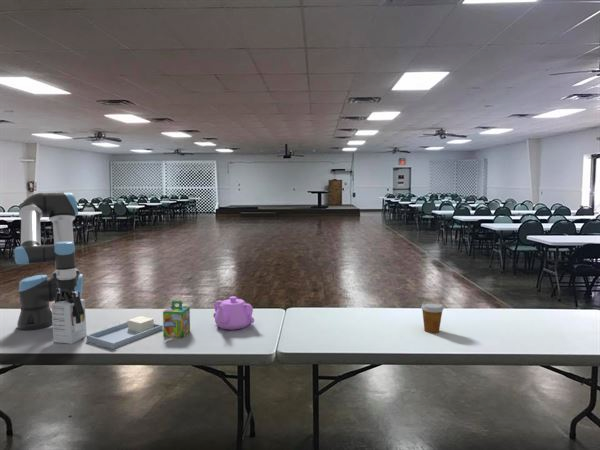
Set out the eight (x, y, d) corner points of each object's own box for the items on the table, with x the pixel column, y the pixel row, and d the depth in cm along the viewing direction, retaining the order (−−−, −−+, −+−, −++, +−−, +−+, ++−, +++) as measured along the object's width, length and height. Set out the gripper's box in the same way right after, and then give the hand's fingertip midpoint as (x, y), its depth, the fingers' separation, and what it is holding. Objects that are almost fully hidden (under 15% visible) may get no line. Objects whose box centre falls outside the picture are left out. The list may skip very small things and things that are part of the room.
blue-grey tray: (86, 341, 181) (86, 335, 181) (136, 324, 203) (136, 318, 203) (113, 349, 172) (113, 343, 172) (162, 330, 194) (162, 325, 193)
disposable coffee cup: (444, 329, 193) (444, 303, 192) (441, 335, 185) (442, 309, 184) (422, 326, 197) (423, 300, 196) (419, 332, 189) (419, 306, 188)
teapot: (197, 331, 192) (196, 302, 191) (223, 317, 212) (222, 290, 211) (239, 338, 184) (239, 307, 182) (262, 322, 204) (262, 294, 203)
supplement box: (71, 344, 178) (69, 305, 176) (52, 342, 180) (50, 303, 178) (87, 336, 187) (85, 298, 186) (69, 334, 189) (66, 297, 187)
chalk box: (163, 337, 185) (161, 304, 184) (171, 330, 194) (170, 298, 193) (183, 338, 184) (182, 304, 183) (190, 330, 194) (189, 299, 192)
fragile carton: (128, 329, 194) (127, 320, 193) (140, 325, 200) (140, 315, 199) (141, 333, 189) (140, 323, 189) (153, 328, 195) (153, 318, 195)
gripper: (42, 276, 183) (46, 326, 186) (73, 283, 172) (77, 335, 174) (59, 273, 190) (63, 321, 192) (91, 279, 178) (94, 330, 180)
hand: (69, 328), depth 183 cm, fingers closed on supplement box, 11 cm apart
